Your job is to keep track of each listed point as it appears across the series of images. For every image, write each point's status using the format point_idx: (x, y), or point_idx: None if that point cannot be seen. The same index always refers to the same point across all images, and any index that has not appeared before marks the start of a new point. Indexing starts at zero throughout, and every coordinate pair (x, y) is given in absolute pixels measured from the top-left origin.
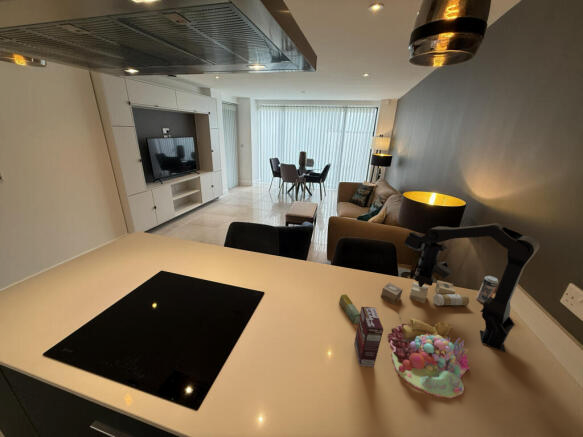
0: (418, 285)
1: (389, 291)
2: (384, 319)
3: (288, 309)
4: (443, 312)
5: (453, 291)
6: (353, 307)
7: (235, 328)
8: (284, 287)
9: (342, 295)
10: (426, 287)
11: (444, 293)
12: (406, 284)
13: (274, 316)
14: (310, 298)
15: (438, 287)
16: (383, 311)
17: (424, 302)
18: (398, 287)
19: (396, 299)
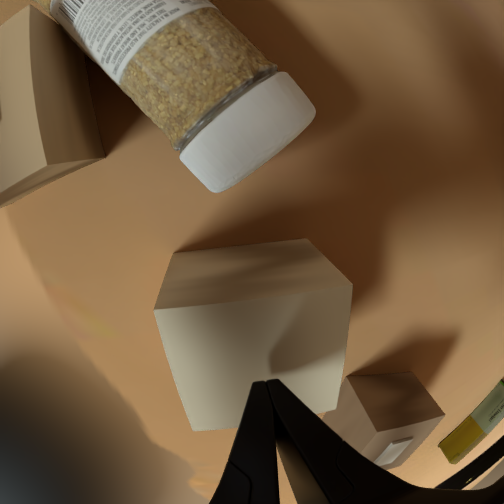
0: (221, 392)
1: (420, 442)
2: (492, 347)
3: (470, 452)
4: (333, 82)
5: (33, 20)
6: (496, 421)
7: (500, 439)
8: None
9: (458, 461)
10: (190, 322)
11: (66, 100)
12: (138, 390)
13: (484, 445)
14: (438, 466)
15: (25, 183)
16: (461, 370)
17: (308, 241)
18: (366, 449)
19: (408, 388)
